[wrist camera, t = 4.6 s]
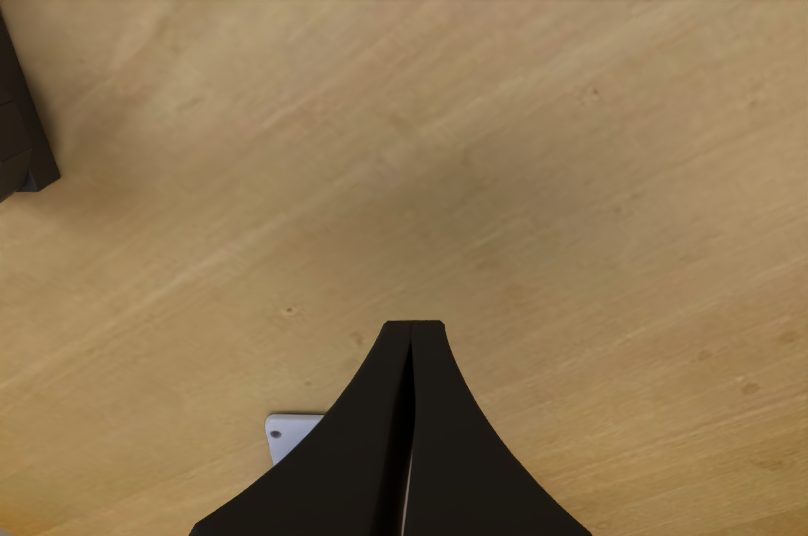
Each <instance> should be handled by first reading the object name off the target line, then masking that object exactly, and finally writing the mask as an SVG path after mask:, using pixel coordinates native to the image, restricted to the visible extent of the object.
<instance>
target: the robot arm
mask: <svg viewBox="0 0 808 536" xmlns="http://www.w3.org/2000/svg"><path fill="white" fill-rule="evenodd" d="M265 429H266V434H267V438H268V443H269V447H270V452H271V456H272V461H273V465H274V467H272V468H271V469H270V470H269V471H267V472H266V473H265V474H264V475H263V476H261V477H260V478H259V479H258V480H257V481H255V482H254V483H253V484H252V485H250V486H249V487H248V488H247V489H245V490H244V491H243V492H242V493H240V494H239V495H238V496H236V497H235V498H233V499H232V500H230V501H229V502H227V503H226V504H224V505H223V506H221V507H220V508H218V509H217V510H216V511H214V512H213V513H211V514H210V515H208V516H207V517H205V518H204V519H202V520H200V521H199V522H197V523H196V524H195V525H194V527H193V529H192V531H191V532H190V534H189V536H592V534H591V533H590V532H589V531H588V530H587V529H586V528H585V527H583V526H582V525H581V524H580V523H579V522H578V521H577V520H575V519H574V518H573V517H572V516H571V515H570V514H569V513H568V512H567V511H566V510H565V509H563V508H562V507H561V506H560V505H559V504H558V503H557V502H556V501H555V500H554V499H553V498H552V497H551V496H550V495H549V494H548V493H547V492H546V491H545V490H544V489H543V488H542V487H541V486H540V485H539V484H538V483H537V482H536V480H535V479H534V478H533V477H532V476H531V475H530V474H529V472H528V471H527V470H526V469H525V468H524V467H523V466H522V465H521V463H520V462H519V461H518V460H517V459H516V458H515V457H514V455H513V454H512V453H511V452H510V450H509V449H508V448H507V446H506V445H505V444H504V443H503V441H502V440H501V439H500V437H499V436H498V435H497V433H496V432H495V430H494V429H493V427H492V426H491V425H490V423H489V422H488V420H487V419H486V417H485V416H484V414H483V412H482V411H481V409H480V408H479V406H478V404H477V402H476V401H475V399H474V397H473V396H472V394H471V392H470V390H469V388H468V386H467V385H466V383H465V381H464V378H463V376H462V374H461V372H460V370H459V368H458V366H457V364H456V361H455V359H454V357H453V354H452V351H451V349H450V346H449V343H448V340H447V336H446V332H445V324H443V323H442V322H441V321H440V320H407V321H387V322H386V323H385V324H384V325H383V327H382V329H381V331H380V333H379V335H378V337H377V339H376V341H375V343H374V345H373V347H372V348H371V350H370V352H369V354H368V355H367V357H366V359H365V360H364V362H363V363H362V365H361V367H360V368H359V370H358V371H357V373H356V374H355V376H354V377H353V379H352V380H351V382H350V383H349V384H348V386H347V387H346V388H345V390H344V391H343V392H342V394H341V395H340V397H339V398H338V399H337V401H336V402H335V403H334V404H333V406H332V407H331V408H330V409H329V411H328V412H327V413H326V414H325V415H288V414H274V415H270V416H268V418H267V419H266V422H265ZM276 431H279V432H276Z"/></svg>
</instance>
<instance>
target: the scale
mask: <svg viewBox="0 0 808 536" xmlns="http://www.w3.org/2000/svg"><path fill="white" fill-rule="evenodd" d="M59 178H60V175H59V172H58V170H57V167H56V164H55V161H54V159H53V156H52V153H51V151H50V148H49V145H48V142H47V140H46V137H45V134H44V132H43V129H42V126H41V123H40V121H39V118H38V115H37V113H36V110H35V107H34V104H33V102H32V99H31V96H30V94H29V91H28V88H27V85H26V83H25V80H24V77H23V74H22V72H21V69H20V66H19V64H18V61H17V58H16V55H15V53H14V50H13V47H12V45H11V42H10V39H9V36H8V34H7V31H6V28H5V26H4V23H3V20H2V17H1V15H0V203H1V202H2V201H4V200H5V199H6V198H8V197H9V196H10V195H12V194H13V193H14V192H39V191H41V190H42V189H44V188H45V187H47V186H48V185H50V184H51V183H53V182H55V181H56V180H58V179H59Z"/></svg>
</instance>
